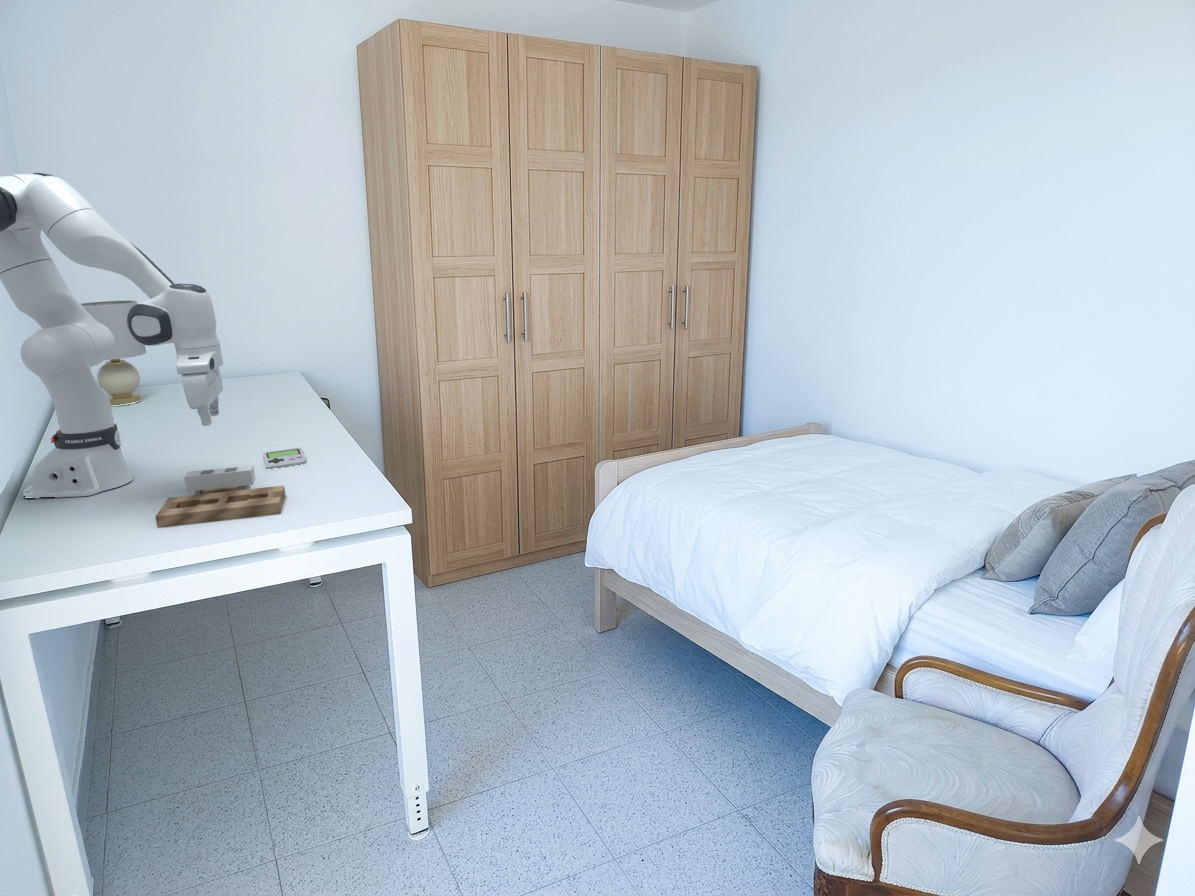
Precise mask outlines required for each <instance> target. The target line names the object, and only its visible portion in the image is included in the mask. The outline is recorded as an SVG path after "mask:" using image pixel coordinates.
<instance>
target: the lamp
mask: <svg viewBox="0 0 1195 896" xmlns="http://www.w3.org/2000/svg"><path fill="white" fill-rule="evenodd" d="M79 303H80V304H81V305H82V306H83V307H84V309H85V310H86V311H87V312H88V313H89V314H90V315H91V316H92V317H93V318H94V319H95V320H96V321H98V322H99V323H101V324H103V325H104V326H106V327H107V328H108V329H109V330H110V331H111V332H112V334H113V336H114V339H115V348H114V351H113V352H112V354H111V355H110V356H109V357H108V358H107V359H105V360H104V361H105V363H104V364H103V365H101V367H99V369H98V371H97V375H96V382H97V383H98V385H99V386H100V387H101V388H102V389H104V390H105V391H106V392H107V394H108V396H109V400H110V405H120V404H126V403H132V402H136V401H139V400H140V399H141V400H142V398H141V394H140V393H139V392H135V391H136V390H137V389H138V388H139V384H140V382H141V377H140V373H139V370H138V369H137V368H136V367H135V366H134V365H133V364H132V363H130V362H128V361H126V359H129V358H133V357H134V358H135V357H139V356H142V355H145V354H147V349H146V345H143V344H141V343H139V342H138V341H137V340H136V339H135V338H134V337H133V336H132V335H131V333H130V331H129V329H128V325H127V316H128V313H129V311H130V309H131V308H132V307H133V306H134V305H137V304H138V301H137V300H131V299H130V300H127V299H126V300H106V301H105V300H104V301H102V300H101V301H91V302H83V303H82V302H79Z"/></svg>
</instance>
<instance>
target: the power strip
mask: <svg viewBox="0 0 1195 896" xmlns="http://www.w3.org/2000/svg"><path fill="white" fill-rule="evenodd" d="M255 475H256V474H255V468H254V465H244V466H233V467H224V468H214V469H202V470H195V471H194V470H192V471H187V472H186V474H185V475H184V476H183V480H184V484H185V491H186V492H187V493H188V492H193V495H198V494H203V490H208V489H218V488H228V487H237V486H241V490H246V489H252V488H251V487H252V486H253V485H254V484H255V482H256V476H255Z"/></svg>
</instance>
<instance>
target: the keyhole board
mask: <svg viewBox="0 0 1195 896" xmlns="http://www.w3.org/2000/svg"><path fill="white" fill-rule="evenodd" d="M286 495H287V494H286V489H285V485H275V486H267V487H266V486H265V487H257V488H251V489H246V490H236V491H227V492H217V493H208V494H198V495H194V494H190V495H181V496H171V497H170V496H169V497H167V500H166V501H165V503H164V504H163V505H162V506H161V508H160V509H159V511H158V512H157V514H156V515H155V516H154V517H155V521H156V527H157V528H166V527H167V528H168V527H175V526H181V525H182V526H183V525H185V526H186V525H192V524H201V523H202V524H203V523H209V522H219V521H228V520H229V521H230V520H235V519H244V518H245V519H246V518H252V517H253V518H254V517H263V516H271V515H280V514H281V513H282V509H283V506H284V503H285V499H286Z"/></svg>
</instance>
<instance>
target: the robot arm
mask: <svg viewBox="0 0 1195 896" xmlns="http://www.w3.org/2000/svg"><path fill="white" fill-rule="evenodd" d="M42 232H43V233H44V235H45V236H46V237H47V238H48V239H49V241H50V242H51V243H53V245H54V246H55V247H56V248H57V250H58V251H59V252H60V253H62V254H63V255H64V256H65V257H66V258H68V259H69V260H71V261H72V262H73V263H75V264H79V265H81V266H85V267H88V268H94V269H99V270H100V269H101V270H105V271H108V272H111V273H116V274H117V275H121V276H122V277H125V278H127V279H129V280H130V281H131V282H132V283H134V285H136V287H138V288H139V289H140V290H141V292H143V293H144V294H145V295H146V296H147V297H148V298H149V299H148V300H145V301H142V302H139V303H137V305H134V306H133V307H132V308H131V309H130V311H129V313H128V316H127V325H128V329H129V331H130V333H131V335H132V336H133V337H134V338H135V339H136V340H137V341H138V342H139V343H141V344H143V345H145V346H147V347H148V346H150V347H151V346H153V347H157V346H162V345H167V344H173V345H174V348H175V354H176V360H177V361H176V366H175V368H176V372H177V375H181V383H182V384H181V385H182V388H183V391H184V395H185V399H186V402H187V405H188V407H189V408H190V409H191V410H197V411H196V412H197V413H198V416H199V419H200V420H201V425H202V426H203V427H206V426H207V427H208V426H211V424H212V423H213V421H212V417H217V416H218V415H219V414H220V408H219V404H220V403H219V396H220V394H221V393H222V392H223V390H224V389H223V381H222V376H221V371H220V367H222V366H223V365H224V359H223V355H222V348H221V343H220V340H219V338H218V336H217V335H218V334H217V319H216V314H215V309H214V305H213V301H212V299H211V296H210V294H209V292H208V290H207V289H206V288H205V287H202V286H201V285H199V284H192V283H175V282H173V280H172V279H171V278H170V277H168V276H167V274H166V273H164V272H163V271H162V269H161V268H159V267H158V266H157V265H156V263H155V262H154V261H152V260H151V259H150V258H149V257H148V256H147V255H146V254H145V253H144V252H143V251H142V250H141V249H139V248H138V247H137V246H136V245H134V244H133V243H132V242H130V241H129V240H128V239H126V238H125V237H124V236H123V235H121V234H120V233H119V232H117V230H116V229H114V227H112V226H111V225H110V224H109V223H108V221H107V220H105V219H104V217H102V215H101V214H100V213H99V212H98V211H97V210H96V209H95V208H94V206H92V204H91V203H90V202H89V201H88V200H87V199H86V198H85V197H84V196H83V195H82V194H81V193H80V192H78V191H77V190H76V189H75V188H74V186H71V184H69V183H68V182H67V181H65V180H64V179H62V178H60V177H58V176H57V175H53V174H49V173H42V172H34V173H11V174H5V175H2V176H0V282H1V283H2V285H3V287H4V289H5V290H6V292H7V294H8V295H9V297H10V299H11V301H12V302H13V304H14V306H15V307H16V309H17V310H18V311H20V312H21V313H23V314H25V315H26V316H29V317H30V318H31V319H32V320H33V321H35V323H37V324H38V326H39V327H40V328H42V329H39V330H37V331H35V332H34V333H32V334H31V335H30V336H29V337H27V338H26V339H25V340H24V341H23V342H22V344H21V347H20V358H21V360H22V362H23V365H24V366H25V367H26V368H27V370H29V371H30V372H32V373H33V374H35V375H37V376H38V377H39V379H40V381H42V383H43V384H44V386H45V388H46V390H47V392H48V393H49V395H50V398H51V399H52V403H53V406H54V410H55V413H56V418H57V422H58V427H59V429H58V430H56V431H55V434H53V435H52V437H50V443H51V444H53V445H54V448H53V449H52V450H51V451H50V452H48V453H47V454H46V455H45V456H44V457H43V458H42V459H41V460H40V461H39V462H38V463H36V465H35V466H34V467H33V469H32V474H31V475H32V476H31V481H32V483H31V484H30V485H28V486H27V487H26V488H25V489H24V490H23V493H22V496H23V495H24V496H25V497H55V498H68V497H69V498H73V497H89V496H92V495H93V496H94V495H97V494H99V493H101V492H104V491H108V490H112V489H115V488H119V487H121V486H124V485H126V484H128V483H130V482H132V480H134V476H133V474H132V473H131V471H130V469H129V467H128V465H127V462H126V460H125V458H124V454H123V451H122V448H121V446H122V445H121V444H122V443H121V442H122V441H121V436H120V432H119V430H118V426H117V423H115V421H114V415H113V411H112V407H111V405H110V400H109V396H110V395H109V394H107V392H106V391H105V390H104V389H102V388H101V387H100V386H99V384H98V381H97V379H96V378H95V376H94V375H93V372H92V369H91V367H95V366H97V365H99V364H101V363H103V362H104V361H106V360H105V359H107V358H108V357H109V356H110V355H111V354H112V352H113V351H114V348H115V339H114V336H113V334H112V332H111V331H110V330H109V329H108V328H107V327H106V326H104V325H103V324H101V323H99V322H98V321H96V320H95V319H94V318H93V317H92V316H91V315H90V314H89V313H88V312H87V311H86V310H85V309H84V307H83V306H82V305H81V304H80V303H81V302H80V301H78V299H77V298H76V297H75V295H74V294H73V293H72V292H71V290H70V289H69V286H68V285H67V283H66V281H65V280H64V278H63V276H62V274H61V273H60V271H59V270H58V268H57V266H56V264H55V262H54V260H53V259H52V257H51V256H50V253H49V252H48V250H47V248H46V247H45V245H44V244H43V241H42V238H41V237H42V236H41V235H42V234H41V233H42Z"/></svg>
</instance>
